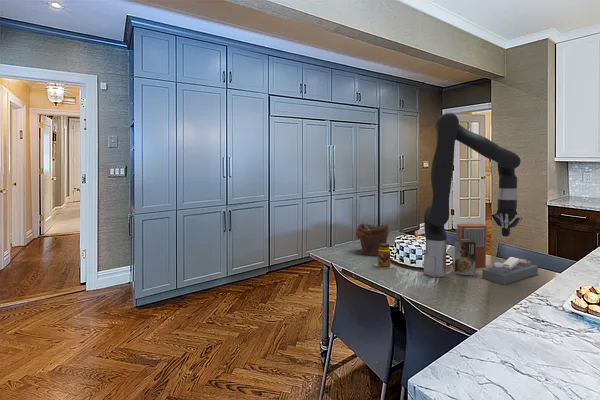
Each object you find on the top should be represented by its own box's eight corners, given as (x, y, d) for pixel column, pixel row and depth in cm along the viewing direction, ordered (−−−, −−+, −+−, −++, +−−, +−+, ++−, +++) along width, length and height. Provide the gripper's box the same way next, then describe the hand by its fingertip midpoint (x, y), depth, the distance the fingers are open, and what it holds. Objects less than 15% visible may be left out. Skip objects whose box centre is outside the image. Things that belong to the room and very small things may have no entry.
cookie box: (474, 272, 163) (475, 239, 161) (475, 276, 157) (476, 242, 156) (454, 270, 167) (454, 238, 165) (454, 273, 161) (454, 240, 159)
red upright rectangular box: (453, 263, 178) (483, 263, 176) (458, 267, 171) (489, 267, 169) (454, 223, 175) (484, 223, 174) (459, 225, 168) (490, 225, 167)
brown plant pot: (352, 249, 211) (352, 221, 209) (383, 248, 213) (383, 220, 211) (360, 257, 194) (360, 227, 191) (394, 256, 196) (394, 225, 194)
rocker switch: (510, 270, 152) (509, 267, 151) (501, 267, 155) (500, 265, 155) (520, 261, 155) (519, 258, 155) (511, 259, 158) (510, 256, 158)
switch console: (504, 284, 145) (504, 271, 145) (482, 278, 154) (482, 265, 154) (537, 274, 157) (538, 262, 157) (515, 268, 166) (516, 257, 165)
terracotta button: (523, 266, 157) (523, 261, 157) (515, 264, 160) (515, 259, 160) (528, 264, 159) (528, 260, 158) (520, 263, 162) (520, 258, 162)
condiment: (382, 269, 171) (382, 246, 170) (372, 265, 179) (372, 243, 177) (394, 267, 174) (394, 244, 172) (384, 263, 181) (384, 241, 180)
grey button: (500, 269, 149) (500, 264, 148) (492, 267, 152) (492, 262, 152) (505, 268, 150) (505, 263, 150) (497, 266, 153) (497, 261, 153)
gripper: (487, 197, 155) (486, 234, 157) (517, 200, 143) (515, 239, 145) (498, 196, 159) (496, 232, 160) (527, 198, 147) (525, 237, 149)
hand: (505, 236), depth 153 cm, fingers closed
